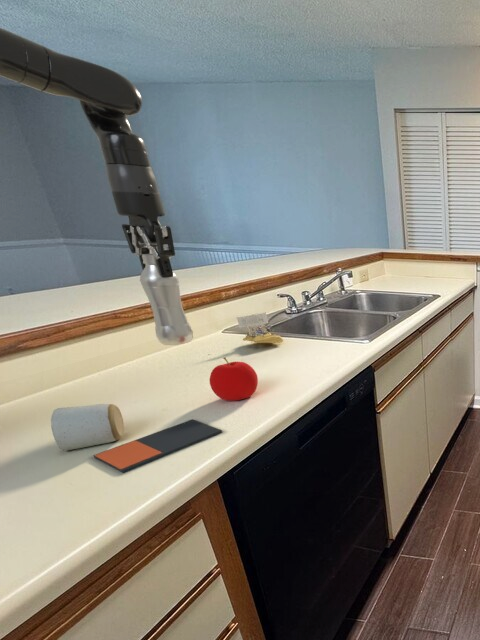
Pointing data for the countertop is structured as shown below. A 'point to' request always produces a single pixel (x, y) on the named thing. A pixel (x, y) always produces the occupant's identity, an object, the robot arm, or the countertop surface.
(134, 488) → the countertop surface
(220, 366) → the fruit
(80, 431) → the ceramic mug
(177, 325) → the plastic bottle
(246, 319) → the model sailing ship
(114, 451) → the mat
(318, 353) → the countertop surface
